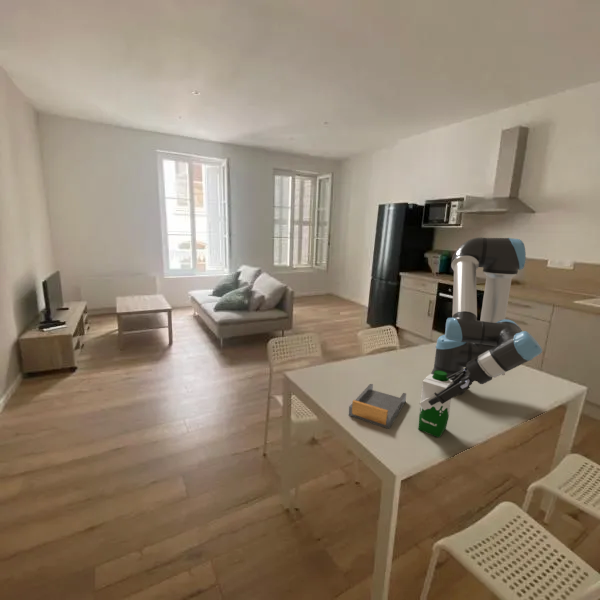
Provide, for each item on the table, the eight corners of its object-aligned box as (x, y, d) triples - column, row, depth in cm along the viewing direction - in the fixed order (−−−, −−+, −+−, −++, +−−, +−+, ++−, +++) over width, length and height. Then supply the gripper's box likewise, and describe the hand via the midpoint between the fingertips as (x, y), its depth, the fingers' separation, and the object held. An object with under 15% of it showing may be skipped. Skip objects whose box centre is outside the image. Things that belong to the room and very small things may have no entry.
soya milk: (449, 428, 111) (456, 374, 107) (441, 440, 104) (448, 383, 100) (423, 418, 116) (429, 366, 112) (414, 429, 109) (420, 374, 105)
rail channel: (369, 391, 135) (370, 378, 134) (405, 401, 128) (406, 387, 127) (348, 415, 117) (349, 400, 116) (389, 428, 109) (390, 413, 108)
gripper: (492, 392, 88) (425, 425, 100) (494, 366, 106) (437, 396, 118) (473, 369, 90) (410, 404, 101) (478, 347, 108) (424, 379, 119)
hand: (424, 400), depth 110 cm, fingers closed on soya milk, 9 cm apart
